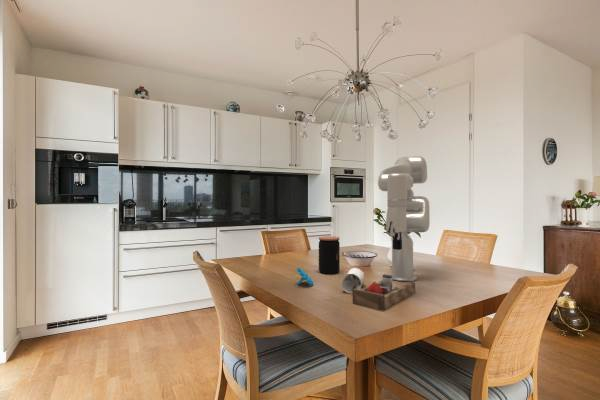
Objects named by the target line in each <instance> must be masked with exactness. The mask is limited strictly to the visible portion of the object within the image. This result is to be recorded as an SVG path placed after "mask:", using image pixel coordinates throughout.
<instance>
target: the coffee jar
mask: <svg viewBox="0 0 600 400" xmlns="http://www.w3.org/2000/svg"><path fill="white" fill-rule="evenodd" d="M318 240H319V242H318V272H319V273H320V274H323V275H336V274H339V272H340V270H341V269H340V267H341V265H340V262H341V261H340V250H341V249H340V244H341V243H340V237H339V236H335V235H334V236H332V235H330V236H329V235H327V236H326V235H324V236H323V235H322V236H319V237H318Z"/></svg>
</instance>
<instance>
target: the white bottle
mask: <svg viewBox="0 0 600 400" xmlns="http://www.w3.org/2000/svg"><path fill="white" fill-rule="evenodd" d="M364 282H365V274H364V272H363V270H362V269H360V268H359V267H358V268H357V267H353V268H350V269H349V270H348V271H347V274H345V275H344V276H343V277H342V279H341V282H340V284H341V288H342V290H343V291H344V292H346V293H348V294H353V289H359V290H360V289H362V287H363V283H364Z"/></svg>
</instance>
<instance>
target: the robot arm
mask: <svg viewBox="0 0 600 400" xmlns="http://www.w3.org/2000/svg"><path fill="white" fill-rule="evenodd" d="M427 167H428V165H427V161H426V159H425V158H424V157H423V156H419V155H418V156H417V155H415V156H402V157H398V158H397V160H395V162H394V165H393V166H390V167H386V168H385V169H383V170H381V172H380V174H379V176H378V179H377V185H378V189H379V190H380V191H382V192H387V193H386V194H387V196H386V197H387V199H386V200H387V204H386V205H387V210H386V217H385V218H386V220H385V232H386V233H389V236H390V237H391V273H389V275H392V281H396V282H397V281H398V282H414V281H417V278H418V277H417V275H414V272H415V271H416V269H415V268H414V240H413V239H412V237H411V235H409V234H408V233H426V232H428V231H429V229H430V216H431V215H430V202H429V199H428V198H427V197H425V196H421V195H420V196H419V195H417V196H416V195H415V196H414V191H413V189H412V188H413V187H414V184H416V185H417V184H424V183H426V181H427V179H428V168H427Z"/></svg>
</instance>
